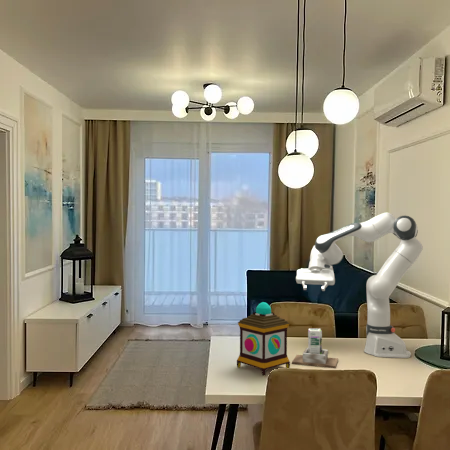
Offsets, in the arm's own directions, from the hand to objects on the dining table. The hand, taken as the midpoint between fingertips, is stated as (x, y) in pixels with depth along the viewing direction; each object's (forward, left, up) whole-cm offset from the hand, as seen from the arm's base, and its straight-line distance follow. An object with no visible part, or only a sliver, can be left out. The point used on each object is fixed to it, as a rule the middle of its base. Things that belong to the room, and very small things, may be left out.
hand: (313, 289), depth 249 cm
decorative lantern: (+17, +39, -32) cm, 53 cm away
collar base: (-4, +22, -31) cm, 38 cm away
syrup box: (-4, +22, -31) cm, 38 cm away
